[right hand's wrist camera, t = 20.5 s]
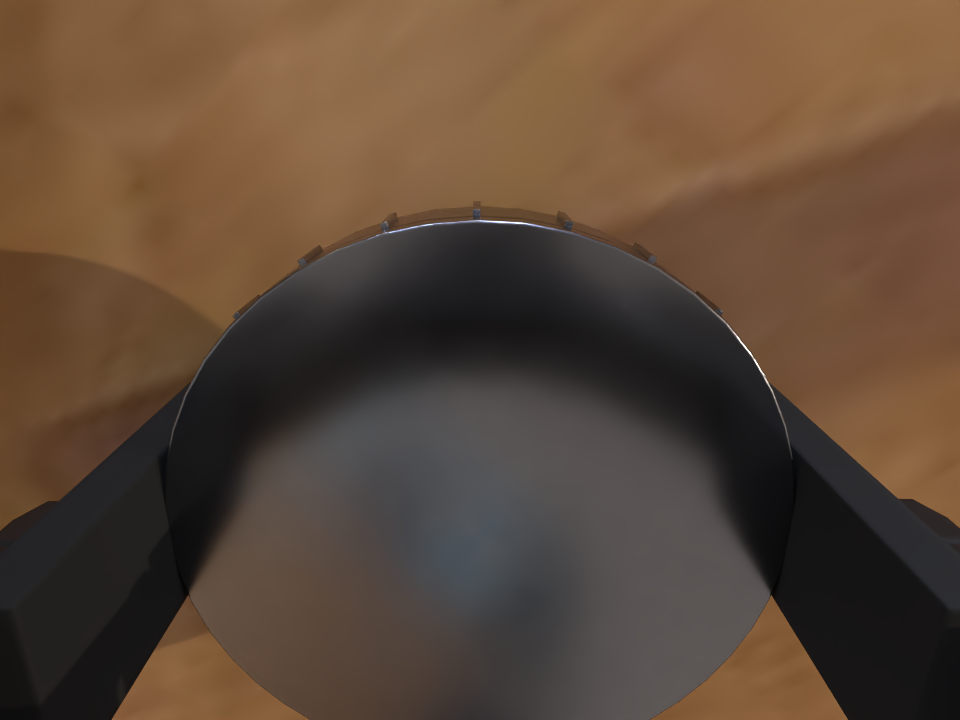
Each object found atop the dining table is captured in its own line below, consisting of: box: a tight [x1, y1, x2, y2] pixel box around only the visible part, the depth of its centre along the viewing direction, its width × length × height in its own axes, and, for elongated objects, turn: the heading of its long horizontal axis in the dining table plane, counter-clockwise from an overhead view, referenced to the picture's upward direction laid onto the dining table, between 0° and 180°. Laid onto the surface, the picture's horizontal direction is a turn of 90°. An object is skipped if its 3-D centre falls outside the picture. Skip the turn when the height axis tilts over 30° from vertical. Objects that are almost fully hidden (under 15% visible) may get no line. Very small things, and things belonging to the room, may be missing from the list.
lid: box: [165, 201, 795, 720], centre depth 11 cm, size 10×10×2 cm
